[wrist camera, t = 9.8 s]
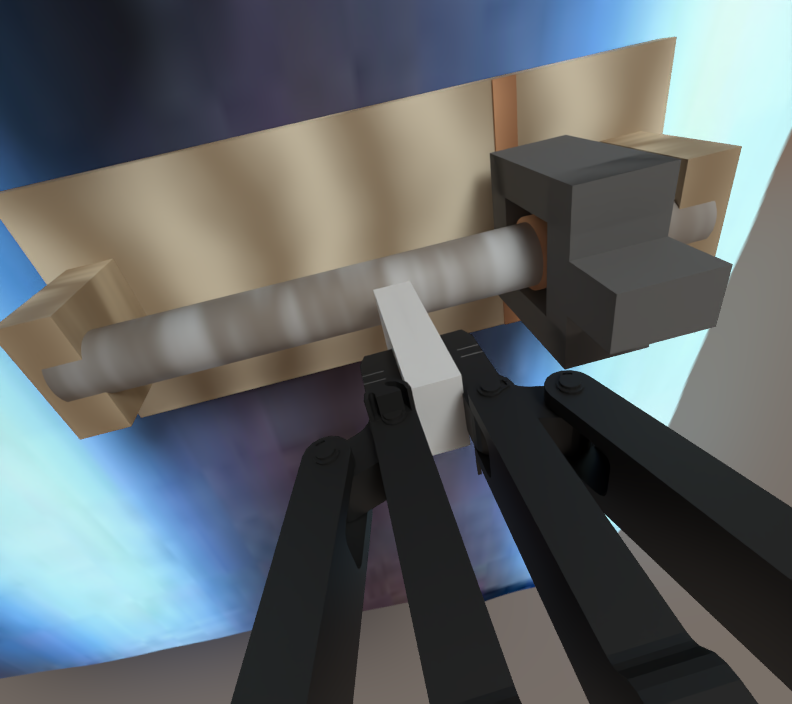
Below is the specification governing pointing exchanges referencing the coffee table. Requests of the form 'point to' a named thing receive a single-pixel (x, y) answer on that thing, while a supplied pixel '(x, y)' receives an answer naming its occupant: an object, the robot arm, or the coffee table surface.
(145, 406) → the pipe rig
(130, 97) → the coffee table surface
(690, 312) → the collar
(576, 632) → the robot arm
